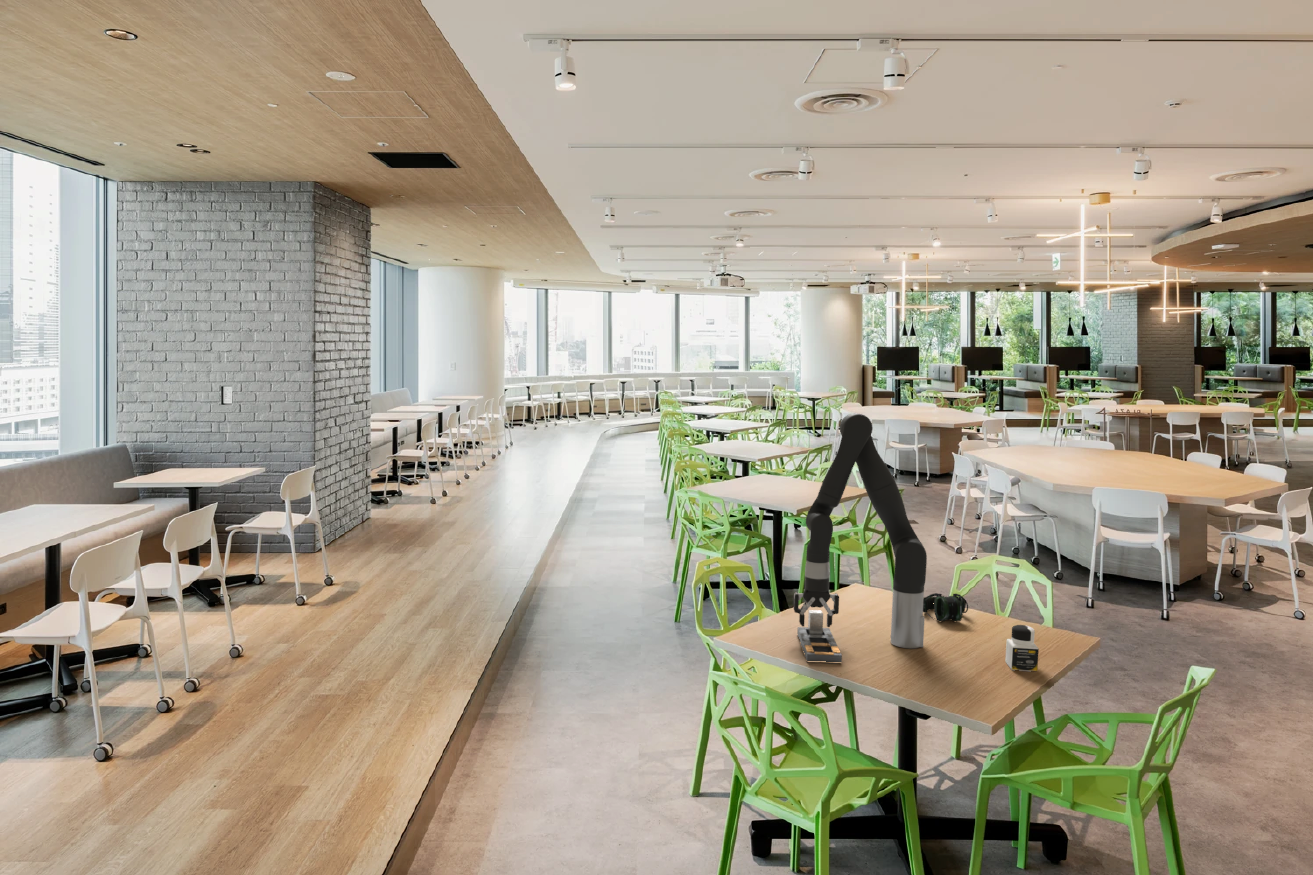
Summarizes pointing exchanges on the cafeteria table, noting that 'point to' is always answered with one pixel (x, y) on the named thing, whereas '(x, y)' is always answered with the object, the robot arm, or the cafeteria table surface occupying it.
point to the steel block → (815, 622)
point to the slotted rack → (819, 646)
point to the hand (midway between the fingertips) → (815, 626)
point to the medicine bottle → (1022, 649)
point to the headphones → (945, 606)
